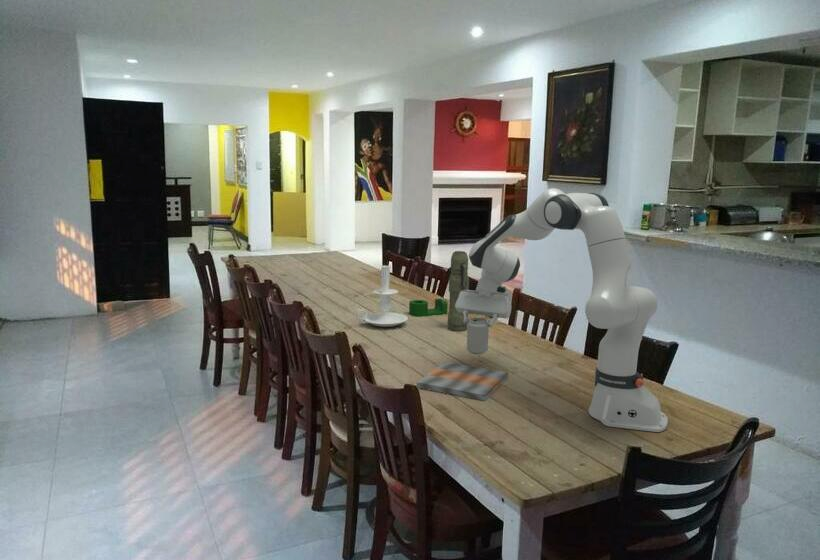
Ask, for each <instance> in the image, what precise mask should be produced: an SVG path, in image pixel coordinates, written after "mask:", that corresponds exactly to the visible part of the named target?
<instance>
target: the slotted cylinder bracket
mask: <svg viewBox="0 0 820 560" xmlns="http://www.w3.org/2000/svg"><path fill="white" fill-rule="evenodd" d="M408 303H409V308H408V310H409V313H408V315H409V316H410V315H411V317H416V318H417V317H418V318H419V317H421V318H423V316H424V317H433V315H435V316H444V315H443V314H445V315H448V305H449V304H448V302H447V301H446V300H443V299H442V298H435V300H434V307H433V308H429V306H428V305H429V302H428V301H427V300H424V299H423V300H422V299H413V300H410V301H409V302H408Z"/></svg>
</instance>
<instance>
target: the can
mask: <svg viewBox="0 0 820 560" xmlns="http://www.w3.org/2000/svg"><path fill="white" fill-rule="evenodd" d="M487 323H488V320H487V319H485V318H483V317H471V318H469V323H468V324H467V330H466V333H467V334H466V351H468V353H470V354H472V355H483V354H486V352H488V351H489V330H490V329H489V328H490V327H488V325H487Z"/></svg>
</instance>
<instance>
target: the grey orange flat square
mask: <svg viewBox="0 0 820 560" xmlns="http://www.w3.org/2000/svg"><path fill="white" fill-rule="evenodd" d="M508 374H509V372H508V371H503V370H496V369H491V368H490V369H489V368H484V367H479V366H473V365H467V364H462V363H455V362H450V361H443V362H442V363H441V364H439V365H438V366H437V367H435V368H434V369H432V370H431V371H430V372H428V373H427V374H426V375H424V376H423V377H422V378H420V379H419V380H418V381H416V387H417V386H418V387H419V388H418V389H420V388H424V389H423V390H425V389H430V390H434V391H433V392H435V391H438V392H437V393H441V392H443V393H442V394H446V393H447V395H451V394H452V396H457V397H463V398H466V399H467V398H468V399H471V400H472V399H473V400H478V401H483V402H485V401H487V400H488V398H489V397H490V396H491V395H492V394H493V393H494V392H495V391H496V390H497V389H498V388H499V387H500V386H501V385H502V384H503V383H504V382H505V381H506V380H507V379H508V376H509V375H508ZM430 390H429V391H430Z"/></svg>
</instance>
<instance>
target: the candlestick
mask: <svg viewBox="0 0 820 560" xmlns="http://www.w3.org/2000/svg"><path fill="white" fill-rule="evenodd" d="M390 267H391V264H390V265H385V264H383V265H382V266H381V271H380V272H381V273H380V274H381V276H380V277H381V284H380V285H381V286H380V288H376V289H374V290H373V291H372V293H375V294H377V295H380V296H381V299H380V300H379V302H378V303H379V304H378V305H379V308H380V310H382V311H381V312H373V313H372V312H371V313H367V311H366V309H356V316H357V319H359V321H360V323H361V324H370V325H372V326H375V327H376V326H377V327H382V328H385V327H396V326H399V325H401V324H403V323H404V322H406V321H408V320H409V319H408V316H407V315H405V314H403V313H398V312H389V310H390V309H391V308H392V305H393V303H392V300H391V298H390V296H392V295H394V294H398V293H399V290H397V289H393V288H390V279H391V278H390V277H391V276H390V274H391V270H390V269H391V268H390ZM361 312H364V316H363V317H360V313H361Z"/></svg>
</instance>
